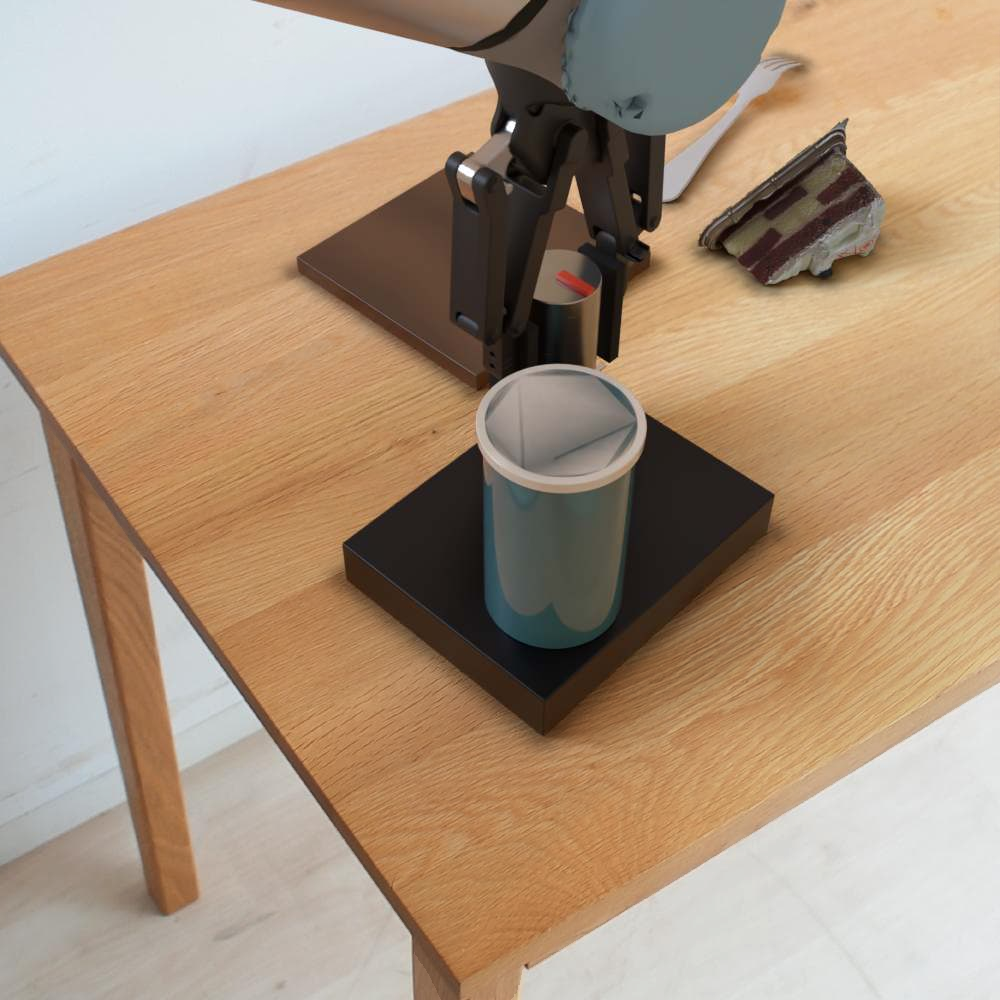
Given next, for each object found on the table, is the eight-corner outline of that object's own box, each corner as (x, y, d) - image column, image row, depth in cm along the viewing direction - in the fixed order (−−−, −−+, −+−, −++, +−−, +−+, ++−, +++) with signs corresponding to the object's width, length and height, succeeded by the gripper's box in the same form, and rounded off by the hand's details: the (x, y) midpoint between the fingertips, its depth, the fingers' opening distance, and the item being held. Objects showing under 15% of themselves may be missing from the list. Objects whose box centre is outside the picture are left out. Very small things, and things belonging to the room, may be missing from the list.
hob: (542, 737, 69) (544, 700, 67) (304, 546, 77) (297, 507, 75) (782, 518, 79) (791, 478, 76) (547, 368, 87) (548, 328, 84)
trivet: (476, 390, 85) (476, 376, 84) (297, 271, 93) (295, 256, 92) (649, 266, 93) (651, 251, 92) (472, 165, 100) (471, 150, 99)
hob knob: (497, 403, 80) (497, 272, 73) (551, 364, 82) (556, 233, 75) (556, 443, 78) (562, 311, 71) (609, 401, 80) (620, 270, 73)
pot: (558, 681, 68) (567, 512, 59) (447, 595, 71) (439, 423, 62) (658, 591, 71) (682, 419, 62) (548, 514, 75) (555, 340, 66)
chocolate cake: (756, 321, 90) (906, 182, 86) (687, 240, 92) (831, 101, 88) (799, 337, 98) (938, 212, 94) (735, 263, 101) (868, 137, 96)
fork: (637, 219, 100) (638, 188, 98) (774, 55, 110) (778, 24, 108) (673, 233, 99) (675, 202, 97) (808, 66, 109) (812, 35, 107)
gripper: (478, 107, 55) (483, 508, 73) (775, -65, 65) (716, 326, 82) (346, 36, 59) (380, 435, 76) (645, -119, 68) (615, 268, 85)
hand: (554, 378), depth 79 cm, fingers open, 6 cm apart
